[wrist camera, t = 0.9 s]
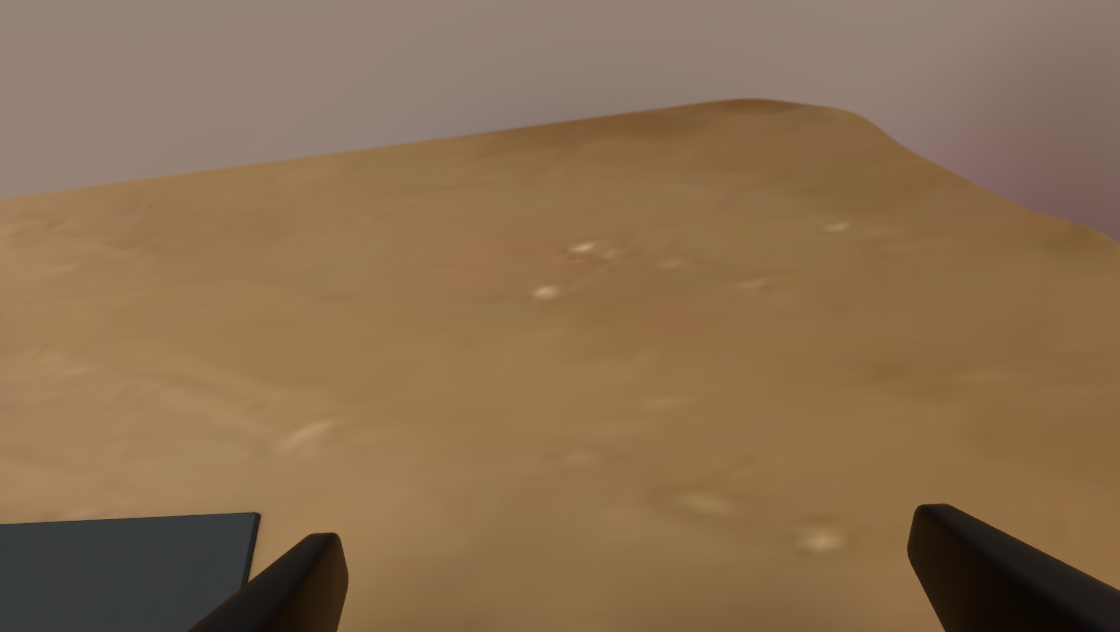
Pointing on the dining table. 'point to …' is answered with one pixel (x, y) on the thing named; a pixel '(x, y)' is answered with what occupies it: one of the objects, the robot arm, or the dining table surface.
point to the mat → (122, 572)
